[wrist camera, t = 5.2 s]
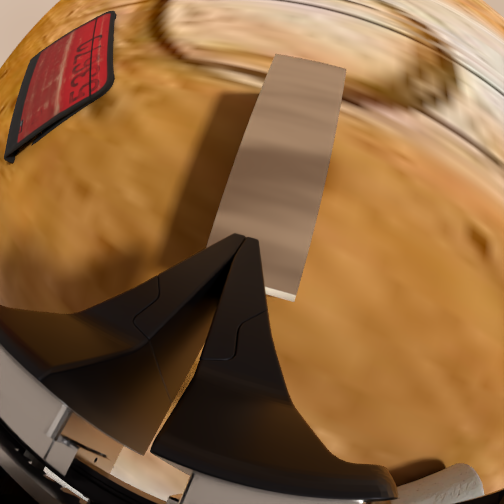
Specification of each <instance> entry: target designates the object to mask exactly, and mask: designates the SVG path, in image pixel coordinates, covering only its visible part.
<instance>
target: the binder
mask: <svg viewBox="0 0 504 504" xmlns="http://www.w3.org/2000/svg"><path fill="white" fill-rule="evenodd" d="M115 19H116V14H115V12H114V11H109V12H106V13H104V14H102V15H100V16H98V17H96V18H94V19H92V20H91V21H89V22H87V23H85V24H83V25H81V26H80V27H78V28H76V29H74V30H72V31H71V32H69V33H67V34H66V35H64V36H63V37H61V38H60V39H58V40H56V41H55V42H54V43H52V44H51V45H49V46H48V47H46V48H45V49H43V50H42V51H40V52H39V53H38V54H37V55H36V56H34V57H33V58H32V59H31V60H30V63H29V65H28V68H27V70H26V73H25V76H24V79H23V82H22V85H21V88H20V92H19V95H18V98H17V102H16V105H15V109H14V113H13V117H12V121H11V125H10V129H9V134H8V139H7V145H6V150H5V154H4V159H5V160H6V161H8V162H10V163H12V164H13V163H14V160H15V153H16V150H17V149H18V148H19V147H21V146H22V145H23V144H24V143H26V142H29V141H30V140H31V139H32V138H33V137H34V136H36V135H37V134H38V133H40V132H42V133H41V134H40V135H39V136H38V137H37V138H36V139H35V140H34V141H33V144H35V143H36V142H37V141H39V140H40V139H41V138H43V137H44V136H45V135H46V134H48V133H49V132H50V131H52V130H53V129H54V128H56V127H57V126H58V125H60V124H61V123H63V122H64V121H65V120H67V119H68V118H70V117H71V116H73V115H74V114H75V113H77V112H78V111H80V110H81V109H83V108H84V107H86V106H87V105H89V104H90V103H92V102H94V101H95V100H97V99H98V98H100V97H101V96H103V95H104V94H105V93H106V92H107V91H108V90H109V89H110V88H111V87H112V85H113V82H114V79H115V78H114V71H113V41H114V36H113V35H114V21H115ZM33 144H32V145H33ZM32 145H31V146H32Z"/></svg>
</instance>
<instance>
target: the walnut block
mask: <svg viewBox="0 0 504 504" xmlns="http://www.w3.org/2000/svg"><path fill="white" fill-rule="evenodd" d="M345 75H346V69H344V68H340V67H337V66H333V65H329V64H325V63H321V62H316V61H312V60H307V59H302V58H297V57H291V56H285V55H279V54H275V57H274V59H273V61H272V64H271V66H270V69H269V71H268V74H267V76H266V79H265V81H264V84H263V86H262V89H261V91H260V94H259V96H258V99H257V101H256V104H255V107H254V109H253V112H252V114H251V117H250V120H249V122H248V125H247V128H246V131H245V133H244V136H243V139H242V142H241V144H240V147H239V150H238V153H237V156H236V158H235V161H234V164H233V167H232V170H231V173H230V176H229V179H228V182H227V184H226V187H225V190H224V193H223V196H222V199H221V202H220V206H219V209H218V212H217V215H216V218H215V221H214V224H213V227H212V230H211V234H210V237H209V240H208V243H207V247H209V246H211V245H213V244H215V243H216V242H218V241H220V240H222V239H224V238H226V237H228V236H229V235H231V234H233V233H237V234H241V235H244V236H246V237H251V238H255V239H258V240H259V245H260V253H261V260H262V268H263V276H264V284H265V291H266V294H268V295H271V296H275V297H278V298H282V299H285V300H289V301H292V302H294V301H295V297H296V294H297V290H298V287H299V283H300V280H301V276H302V273H303V269H304V265H305V262H306V258H307V254H308V251H309V247H310V243H311V239H312V235H313V231H314V227H315V223H316V219H317V215H318V211H319V207H320V203H321V198H322V194H323V190H324V185H325V181H326V176H327V172H328V167H329V162H330V158H331V153H332V148H333V143H334V138H335V133H336V128H337V122H338V117H339V111H340V106H341V100H342V94H343V88H344V82H345ZM207 247H206V248H207Z"/></svg>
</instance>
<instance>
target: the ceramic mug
mask: <svg viewBox="0 0 504 504" xmlns="http://www.w3.org/2000/svg"><path fill="white" fill-rule="evenodd" d="M397 490H398V499H395V500H388V501H379V502H372V503H371V504H453V503H457V502H461V501H465V500H469V499H473V498H476V497H480V496H483V495H484V490H483V485H482V482H481V480H480V477H479V476H478V474H477V473H476V471H475V470H474V469H473V468H472V467H470V466H469V465H467V464H463V463H458V464H455V465H452V466H450V467H448V468H446V469H443V470H441V471H439V472H436V473H434V474H431V475H429V476H426V477H424V478H421V479H419V480H416V481H413V482H410V483H407V484H404V485H401V486H398V487H397Z"/></svg>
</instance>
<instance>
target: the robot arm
mask: <svg viewBox="0 0 504 504" xmlns="http://www.w3.org/2000/svg"><path fill="white" fill-rule="evenodd" d="M204 343H205V344H204ZM203 345H204V347H203V350H202V353H201V357H200V361H199V363H198V366H197V369H196V372H195V374H194V376H193V378H192V380H191V382H190V383H189V385H188V387H187V388H186V390H185V392H184V393H183V395H182V396H181V398H180V400H179V401H178V403H177V405H176V406H175V408H174V409H173V411H172V413H171V414H170V416H169V417H168V419H167V421H166V422H165V424H164V425H163V427H162V429H161V430H160V432H159V433H158V435H157V437H156V438H155V440H154V442H153V444H152V447H151V450H150V452H151V453H152V454H154V455H155V456H157V457H158V458H160V459H162V460H163V461H165V462H167V463H168V464H170V465H172V466H174V467H175V468H177V469H179V470H181V471H182V472H184V473H186V474H188V475H190V477H189V479H188V482H187V484H186V487H185V489H184V491H183V494H177V495H172V496H169V498H168V500H167V502H166V501H163V500H161V499H158V498H156V497H154V496H152V495H149V494H147V493H145V492H143V491H141V490H139V489H137V488H135V487H133V486H131V485H129V484H127V483H125V482H123V481H121V480H120V479H118V478H116V477H114V476H112V475H111V474H110V472H111V470H112V468H113V466H114V464H115V462H116V460H117V458H118V456H119V454H120V452H121V450H122V448H123V446H125V447H127V448H129V449H131V450H133V451H135V452H136V453H138V454H140V455H143V456H144V454H145V452H146V451H147V449H148V447H149V445H150V443H151V441H152V439H153V438H154V436H155V434H156V432H157V430H158V428H159V426H160V425H161V423H162V421H163V419H164V417H165V415H166V413H167V412H168V410H169V408H170V406H171V403H172V402H173V400H174V398H175V397H176V395H177V393H178V391H179V389H180V387H181V385H182V384H183V382H184V380H185V378H186V376H187V374H188V372H189V371H190V369H191V367H192V365H193V363H194V361H195V359H196V358H197V356H198V354H199V352H200V350H201V348H202V346H203ZM45 466H46V467H47V468H48V469H49V470H51V471H52V472H53V473H54V474H56V475H57V476H58V477H59V478H61V479H62V480H63V481H65V482H66V483H67V484H69V485H70V486H72V487H73V488H74V489H76V490H77V491H79V492H80V493H82V494H83V496H84V497H86V498H89V500H88V502H86V501H85V500H83V499H82V498H80V497H79V496H77V495H76V494H75V493H73V492H72V491H70V490H69V489H68V488H62V487H63V486H61V485H60V484H59V483H57V482H56V481H54V480H53V479H51V478H50V477H48V476H46V473H45V472H44V471H43V470H44V468H45ZM395 499H398V490H397V487H396V484H395V482H394V480H393V478H392V476H391V475H390V473H389V471H388V470H387V468H386V467H384V466H380V465H371V464H355V463H349V462H346V461H343V460H341V459H339V458H337V457H336V456H334V455H333V454H332V453H331V452H330V451H329V450H328V449H327V448H326V447H325V446H324V444H323V443H322V442H321V441H320V439H319V438H318V437H317V435H316V434H315V433H314V432H313V430H312V429H311V428H310V426H309V425H308V424H307V423H306V421H305V420H304V419H303V417H302V416H301V415H300V413H299V412H298V411H297V409H296V408H295V406H294V404H293V402H292V400H291V398H290V396H289V393H288V390H287V387H286V384H285V381H284V377H283V374H282V370H281V367H280V364H279V360H278V357H277V354H276V350H275V346H274V342H273V338H272V334H271V328H270V322H269V314H268V307H267V299H266V291H265V284H264V276H263V268H262V260H261V253H260V245H259V240H258V239H255V238H251V237H246V236H244V235H241V234H237V233H233V234H231V235H229V236H228V237H226V238H224V239H222V240H220V241H218V242H216V243H215V244H213V245H211V246H209V247H207V248H205V249H204V250H202V251H200V252H198V253H196V254H194V255H193V256H191V257H189V258H187V259H185V260H184V261H182V262H180V263H178V264H176V265H175V266H173V267H171V268H169V269H167V270H166V271H164V272H162V273H160V274H159V275H158V276H155V277H153V278H151V279H149V280H148V281H146V282H144V283H142V284H140V285H138V286H136V287H135V288H132V289H130V290H128V291H126V292H124V293H122V294H120V295H118V296H115V297H113V298H111V299H109V300H106V301H104V302H102V303H100V304H98V305H95V306H93V307H91V308H89V309H86V310H84V311H81V312H78V313H73V314H59V313H48V312H39V311H30V310H21V309H14V308H8V307H5V306H2V305H0V504H366V502H379V501H388V500H395ZM453 504H504V489H501V490H498V491H495V492H492V493H489V494H486V495H483V496H480V497H476V498H473V499H469V500H465V501H461V502H457V503H453Z"/></svg>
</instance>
